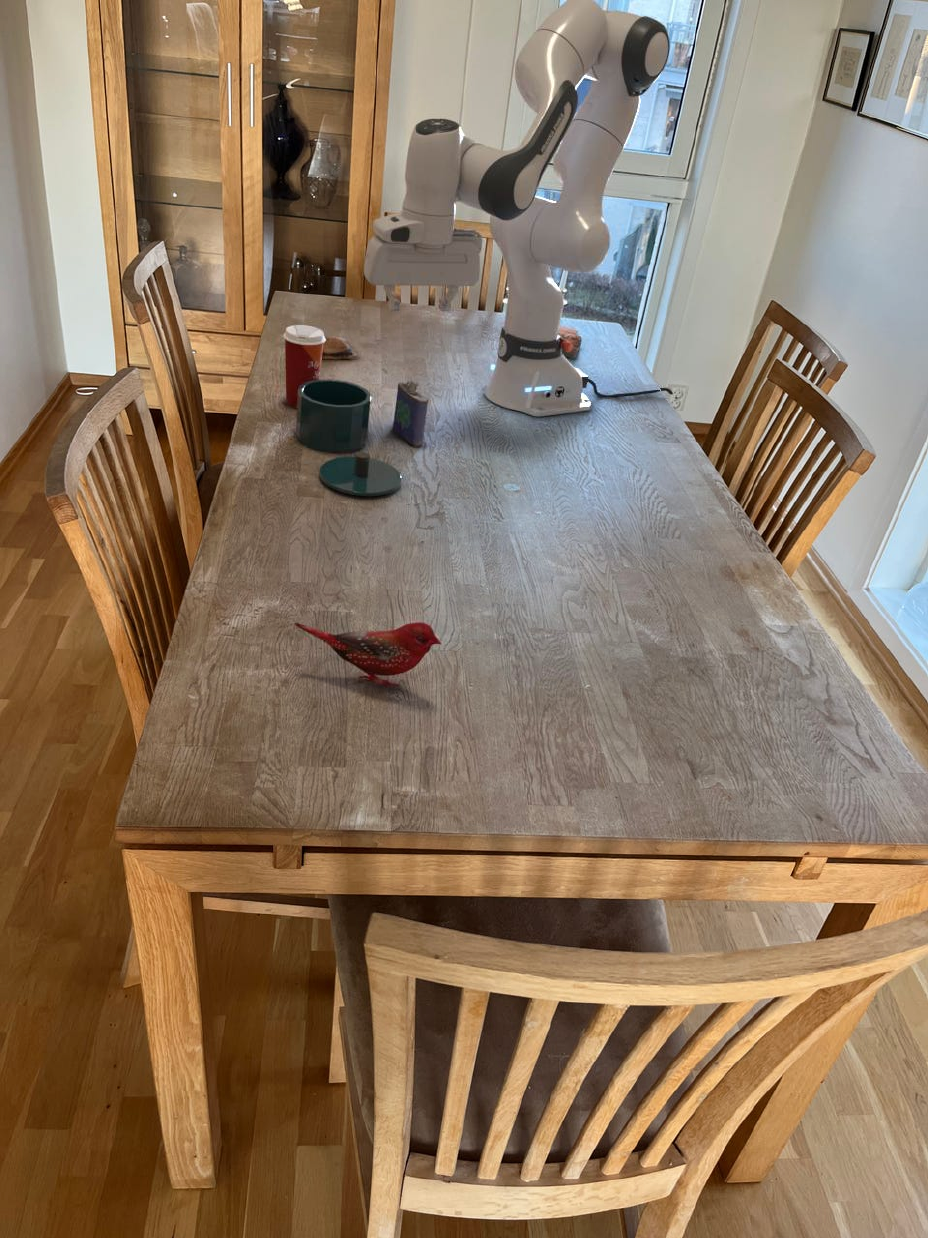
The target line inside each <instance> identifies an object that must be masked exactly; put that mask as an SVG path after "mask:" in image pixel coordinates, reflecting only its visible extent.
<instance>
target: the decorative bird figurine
mask: <svg viewBox="0 0 928 1238" xmlns="http://www.w3.org/2000/svg"><path fill="white" fill-rule="evenodd" d="M293 624H294V626H296V627H298V628H299V629H301V630H302V631H304V632H306V633H308V634H310V635H311V636H314V637H315V638H317V639H319V640H320V641H323V642H324V643H325V644H326V645H328V646H329V647H330V648H331V649H332V650H333V651H334V653H336V654H337V656H339V657H340V659H342V660H344V662H345V661H346V662H348V663H349V664H351V665H353V666H354V667H356V668H357V669H359V670H361V671H362V672H363V673H364V674H366V675H362V676H359V677H358V679H364V680H365V681H366V682H370V683H371V682H372V683H374V684H378V685H380V686H383V687H387V686H393V687H395V686H396V687H401V685H400V684H398V683H391V682H390V681H389V680H387V679H383V678H381V677H379V676H382V677H389V676H390V677H392V676H397V675H398V676H399V675H401V674H405V673H407V672H409V671H411V670H413V669H414V668H415V667H417V665H419V664H420V662H421V661H422V660H423V658H424V657H425V656H426V654H428V653H429V652H430V650H431V649H432V646H433V645H442V642H441V641H440V640H439V638H438V637H437V636H436V635H435V631H434V630H433V628H432V627H431V626H430V625H429V624H428V623H426V622H417V621H416V622H412V623H406V624H403V625H402V626H399V627H397V628H395V629H389V630H388V629H387V630H356V631H350V632H349V631H348V632H342V633H339V634H334V633H329V632H327V631H323V630H320V629H318V628H314V627H311V626H309V625H305V624H302V623H299V622H294V623H293Z"/></svg>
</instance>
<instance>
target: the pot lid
mask: <svg viewBox="0 0 928 1238" xmlns="http://www.w3.org/2000/svg"><path fill="white" fill-rule="evenodd" d="M319 478H320V480H321V481H322V482H323V484H325V485H326V486H327V487H329V488H331V489H333V490H335V491H337V492H341V493H343V494H347V495H350V496H351V495H353V496H357V497H358V496H359V497H378V496H384V495H387V494H390V493H392V492H395V491H396V490H398V489H399V488H400V486H401V484H402V481H403V480H402V479H403V477H402V475H401V473H400V471H399V470H398V469H397V468H396V467H394V466H393V465H391V464H390V463H387V462H386V461H382V460H379V459H375V458H372V457H371V454H370V453H368V452H366V451H357V452H355V454H354V455H353V456H340V457H335V458H332V459H329V460H327V461H326V462H324V463H323V464H321V466H320V468H319Z"/></svg>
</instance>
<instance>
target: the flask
mask: <svg viewBox="0 0 928 1238" xmlns="http://www.w3.org/2000/svg"><path fill="white" fill-rule="evenodd" d="M417 387H419V383H418V382H417V381H416V382H414V381H412V380H407V382H402V381H401V382H399V383H398V384H397V391H396V392H397V393H396V401H395V409H394V414H393V415H394V417H393V423H392V432H393V433H394V434H395V435H396V436H397V437H398V438H400V439H401V440H402V441H403V442H405V443H406V444H407V445H409V446H411V447H414V448H419V447H423V445H424V439H425V427H426V420H427V419H426V418H427V413H428V406H429V398H428V397H426V396H424V395H422V394H421V393H420V392H419V391H417V389H418V388H417Z"/></svg>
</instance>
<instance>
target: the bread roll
mask: <svg viewBox="0 0 928 1238" xmlns="http://www.w3.org/2000/svg"><path fill="white" fill-rule="evenodd" d="M324 337H325V339H326V340H325V342H324V343H323V352H322V360H324V359H325V360H330V359H333V360H345V359H346V360H347V359H348V360H349V359H351V360H353V359H355V360H357V359H358V354H357V352H356V351H355V350H354V349H353V347H352V346H351V344H350V343H349V342H348V341H347V340H346V339H344V338H343V337H341V336H340V337H339V336H328V335H327V336H324Z"/></svg>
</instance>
